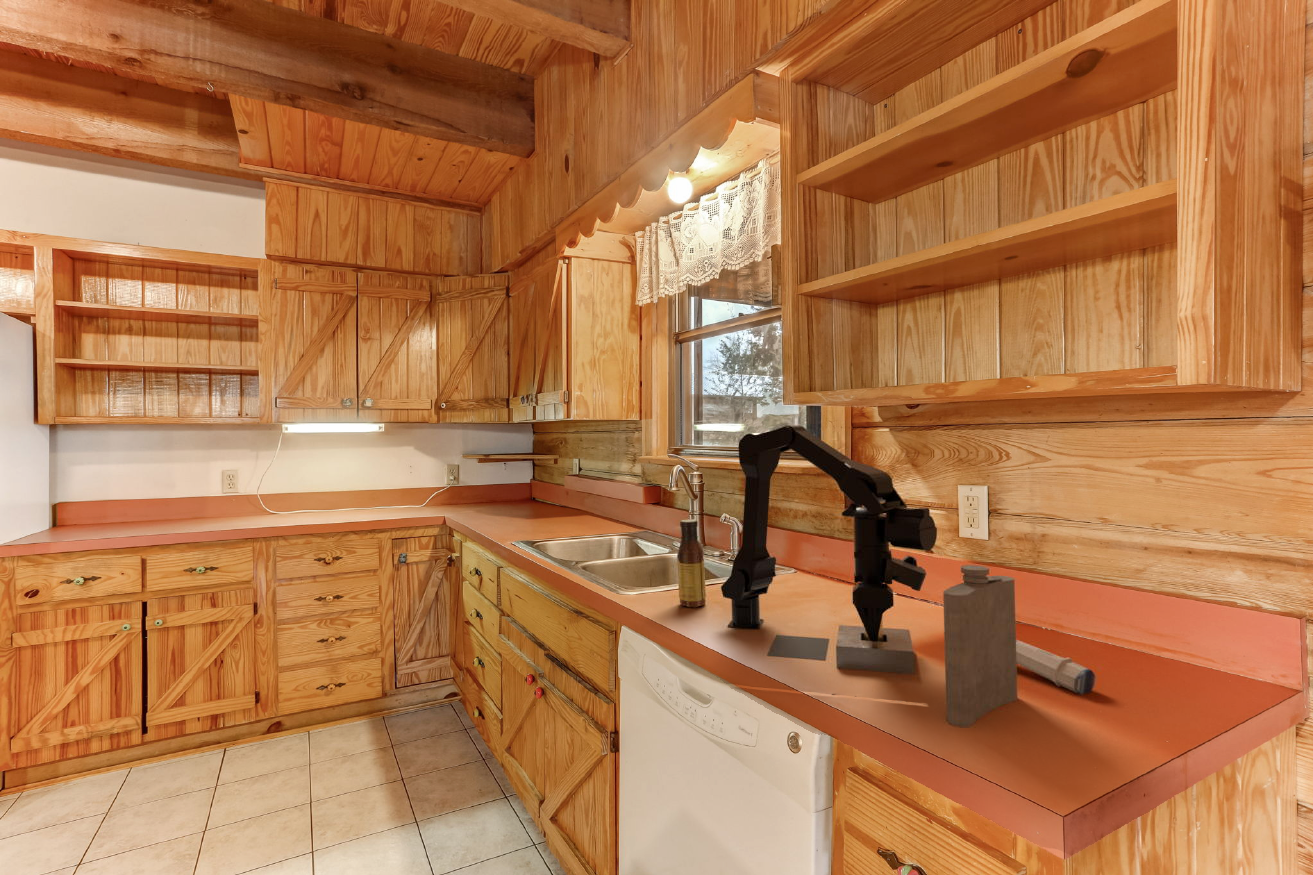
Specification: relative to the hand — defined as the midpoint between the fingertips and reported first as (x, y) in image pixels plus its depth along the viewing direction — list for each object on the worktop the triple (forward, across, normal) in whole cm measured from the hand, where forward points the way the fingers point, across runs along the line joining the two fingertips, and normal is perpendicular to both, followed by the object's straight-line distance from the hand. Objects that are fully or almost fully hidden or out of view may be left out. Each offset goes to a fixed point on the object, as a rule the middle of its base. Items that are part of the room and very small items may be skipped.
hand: (873, 634), depth 110 cm
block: (+4, 0, 0) cm, 4 cm away
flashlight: (+5, +2, -21) cm, 22 cm away
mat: (+4, +3, +13) cm, 14 cm away
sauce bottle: (+5, +28, +40) cm, 49 cm away
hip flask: (+5, -16, -14) cm, 22 cm away
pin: (+4, 0, 0) cm, 4 cm away
